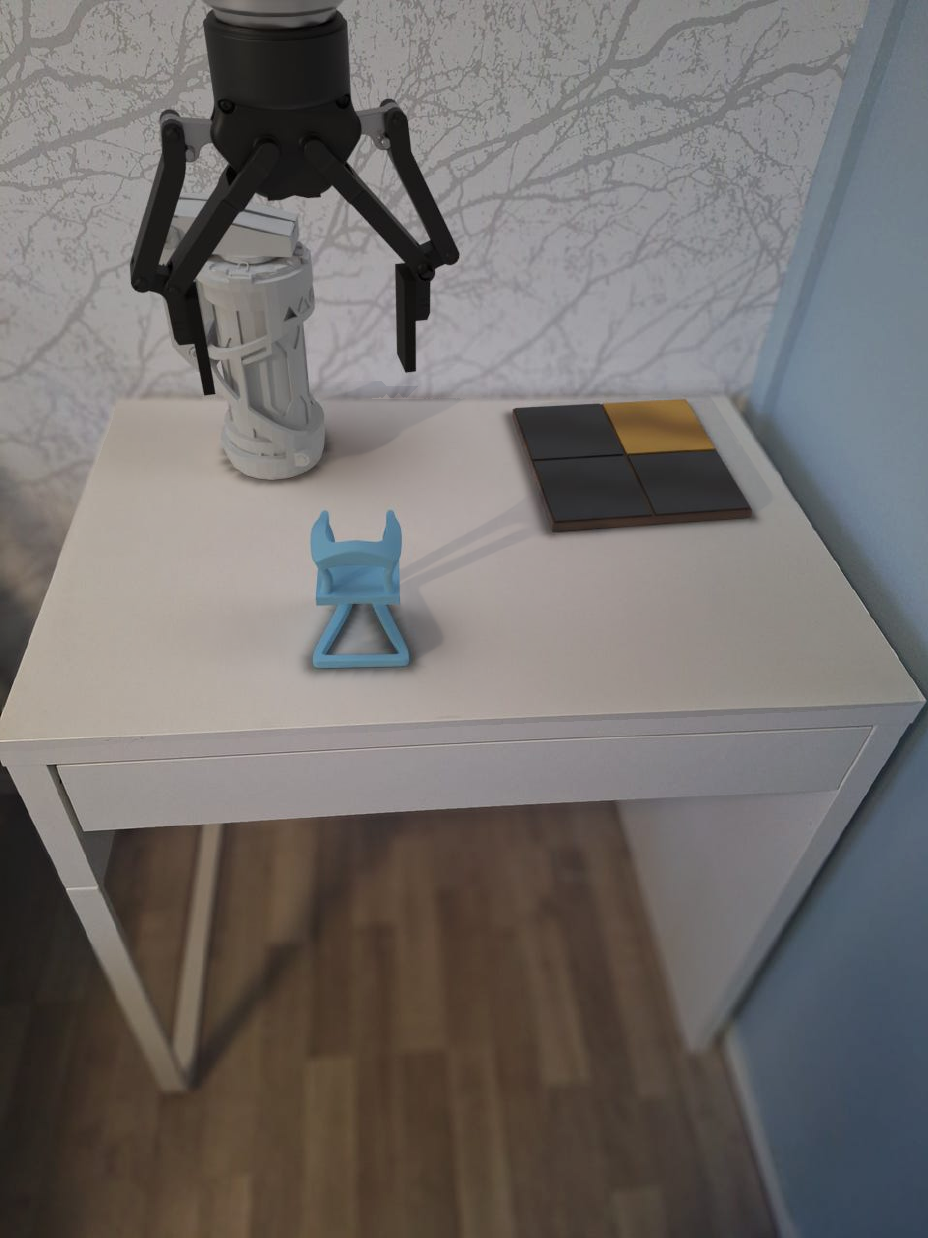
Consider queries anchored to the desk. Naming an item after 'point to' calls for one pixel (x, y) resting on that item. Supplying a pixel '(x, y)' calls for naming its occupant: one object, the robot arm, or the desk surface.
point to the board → (626, 465)
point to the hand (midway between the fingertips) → (309, 373)
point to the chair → (358, 588)
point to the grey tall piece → (257, 337)
